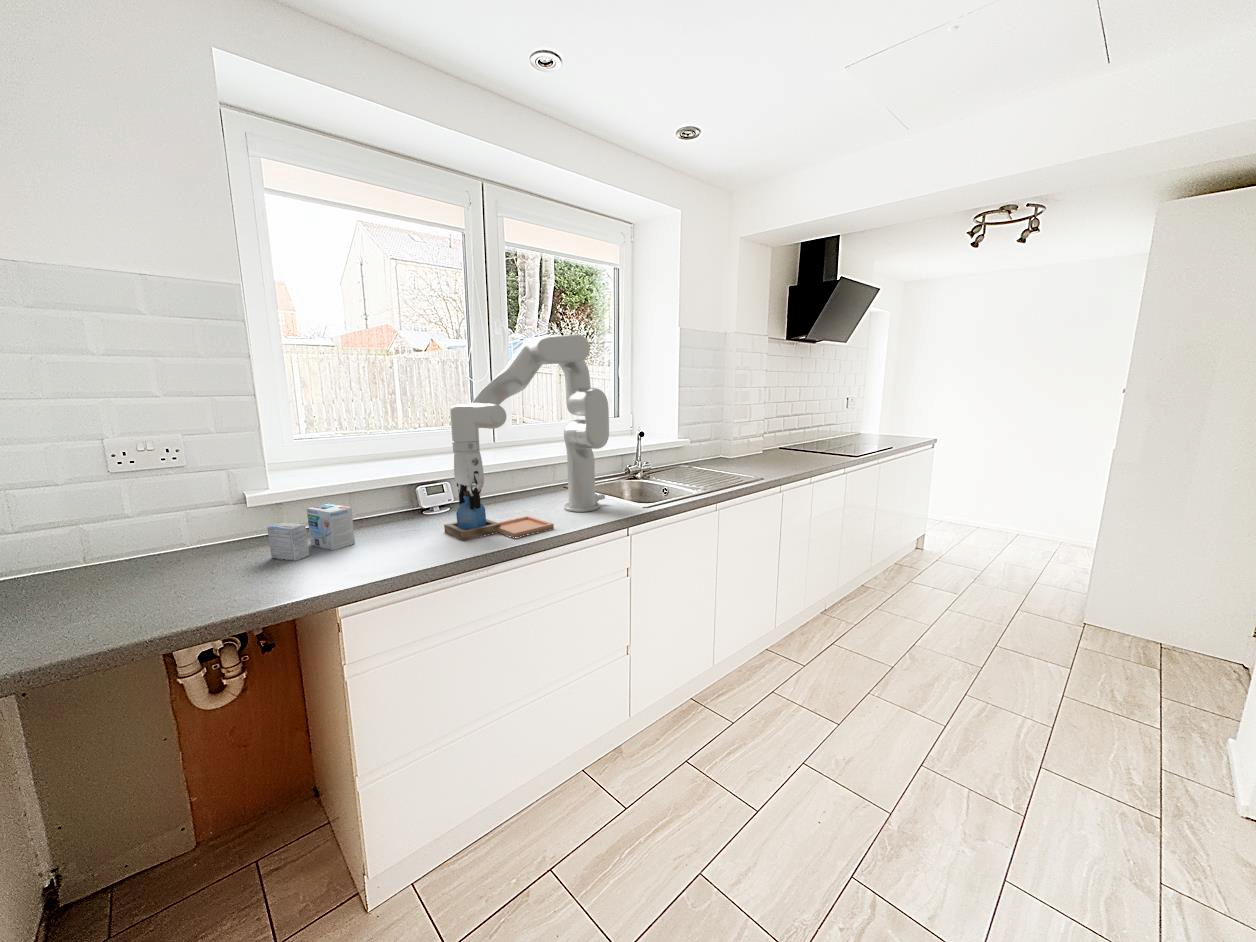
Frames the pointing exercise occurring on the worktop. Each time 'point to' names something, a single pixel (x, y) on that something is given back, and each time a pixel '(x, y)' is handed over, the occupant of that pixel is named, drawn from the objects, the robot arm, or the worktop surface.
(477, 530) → the socket block
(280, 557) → the medicine box
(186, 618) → the worktop surface
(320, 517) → the light bulb box
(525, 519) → the dish
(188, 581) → the worktop surface
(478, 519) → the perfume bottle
